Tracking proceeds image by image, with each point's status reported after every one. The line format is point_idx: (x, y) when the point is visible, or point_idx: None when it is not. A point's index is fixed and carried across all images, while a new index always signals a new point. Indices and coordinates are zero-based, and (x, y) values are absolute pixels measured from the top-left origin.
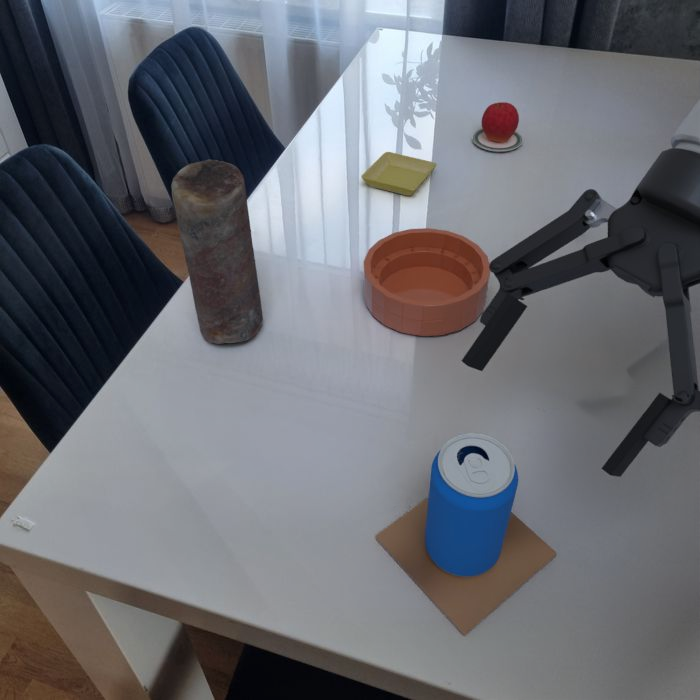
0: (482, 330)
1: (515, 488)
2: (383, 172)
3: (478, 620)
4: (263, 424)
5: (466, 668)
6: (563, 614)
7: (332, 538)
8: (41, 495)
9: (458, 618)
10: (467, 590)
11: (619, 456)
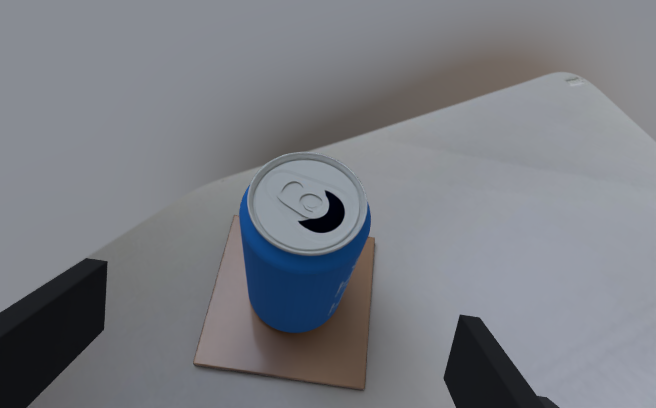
0: (514, 365)
1: (241, 224)
2: None
3: (230, 233)
4: (581, 268)
5: (216, 198)
6: (155, 304)
7: (404, 215)
8: (596, 99)
9: None
10: None
11: (70, 274)
